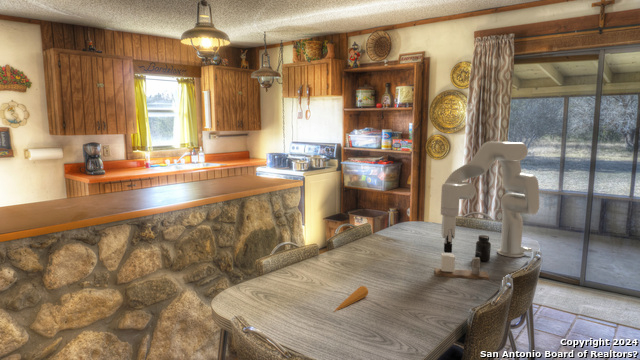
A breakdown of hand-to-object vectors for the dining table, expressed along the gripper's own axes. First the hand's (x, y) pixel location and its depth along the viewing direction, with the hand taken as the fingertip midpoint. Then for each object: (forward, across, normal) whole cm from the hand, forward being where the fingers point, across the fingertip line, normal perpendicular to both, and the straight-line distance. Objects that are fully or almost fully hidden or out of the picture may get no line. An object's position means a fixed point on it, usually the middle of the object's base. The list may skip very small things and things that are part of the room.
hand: (447, 252), depth 180 cm
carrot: (+11, +38, -39) cm, 55 cm away
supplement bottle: (+10, -23, +19) cm, 32 cm away
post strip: (+10, 0, +6) cm, 12 cm away
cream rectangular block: (+8, 0, 0) cm, 8 cm away
